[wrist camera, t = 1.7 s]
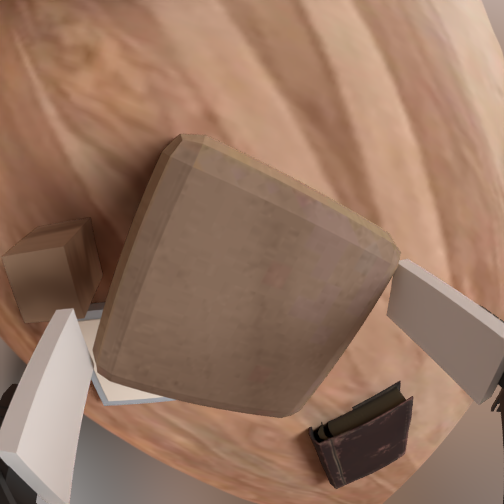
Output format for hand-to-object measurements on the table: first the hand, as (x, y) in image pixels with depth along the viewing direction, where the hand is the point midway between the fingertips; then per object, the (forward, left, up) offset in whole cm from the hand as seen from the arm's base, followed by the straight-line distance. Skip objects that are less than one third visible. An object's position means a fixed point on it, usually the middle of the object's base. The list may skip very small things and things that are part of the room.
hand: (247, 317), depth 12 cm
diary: (+47, +24, -20) cm, 56 cm away
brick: (+3, -14, -19) cm, 24 cm away
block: (0, 0, -19) cm, 19 cm away
